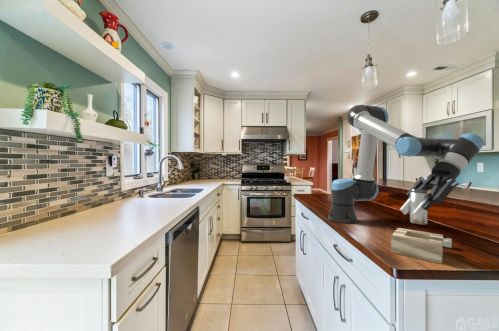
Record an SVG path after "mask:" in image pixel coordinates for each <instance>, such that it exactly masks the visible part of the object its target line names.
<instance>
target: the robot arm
mask: <svg viewBox="0 0 499 331" xmlns="http://www.w3.org/2000/svg"><path fill="white" fill-rule="evenodd" d="M389 117H390V116H389V113H388V111H387V110H386V109H385V108H384V107H383V106H382V107H381V106H378V105H367V104H356V105H354V106H352V107H351V108H349V110H348V111H347V114H346V121H347V123H348V124H349V125H350V126H351V127H353V128H355V129H357V130H358V131H359V132H360V141H359V149H358V158H357V165H356V166H357V167H356V173H355V174H354V175H353V176H352V178H349V177H348V178H337V179H334V180H332V183H331V206H330V210H329V213H328V217H327V218H328V220H329V221H330V222H335V223H342V224H354V223H357V222H358V215H357V213H356V210H355V207H354V206H355V202H362V201H363V202H366V201H372V200H373V199H375V198H377V196H378V194H379V186H378V183H377V182H376V178H375V177H374V176H373V175H374V169H375V160H376V153H377V144H378V140H381V141H382V142H384V143H385V144H388V145H389V146H390V147H393V148H394V149H395V151H396V153H397V154H398V155H400V156H404V157H410V158H411V157H426V158H427V157H430V158H431V157H433V158H440V159H439V160H438V162H437V163H436V164H435V165H434V166H433V167H432V169H431V173H430V174H429V175H427V176H426V177H423V176H419V177H418V180H417V181H416V182H415V183H414V184H413V185H412V187H411V188H410V189H425V190H427V192H428V191H429V190H430V193H429V194H428V195H427V197H426V198H427V199H424V200H423V201H422V202H421V203H420V205H419V206H418V207H417V208H416V209H415V210H414V212H413V213H414V214H415V215H416V216H417V217H418V218H420V217H421V216H422V215H423V213H424V212H425V211H426V210H427V211H428V210H429V209H430V208H431V207H432V206H433V205H435V204H439V205H440V204H442V203H443V202H444V201H445V199H446V198H447V197H448V196H449V195H450V194H451V192H452V191H453V190H454V189H455V188H457V187H458V186H459V184H460V183H459V182H458V181H457V180H456V179H457V178H458V177H459V176H460V174H461V173H462V172H463V171H464V170H465V169H466V167H467V166H468V165H469V163H470V162H471V161H472V160H473V159H474V158H475V157H476V156H477V155H478V154H479V153H480V152H481V149H482V148H483V147H484V144H485V141H484V139H483V138H482V137H481V136H480V135H478V134H475V133H472V132H467V133H464V134H463V133H462V134H461V135H460V136H459V137H458V138H434V137H433V138H432V137H418V136H415V135H413V134H410V133H409V132H407V131H404V130H402V129H400V128H398V127H397V126H394V125H392V124H389V123H388V122H389ZM410 189H409V190H408V191H407V192H406V196H407V197H408V198H407V199H406V201H404V203H403V205H402V206H401V207H400V208H399V210H400V211H401V213H403V215H407V214H408V213H410Z"/></svg>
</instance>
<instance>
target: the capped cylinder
mask: <svg viewBox="0 0 499 331" xmlns="http://www.w3.org/2000/svg"><path fill="white" fill-rule="evenodd" d="M409 190H410V211H409V223H412V224H416V225H427V224H428V210H426V211H425V212H424V213H423V215H422V216H421V217H420V218H418V217H417V216H416V215H415V214H414V213H413V212H414V210H415V209H416V208H417V207H418V206H419V205H420V203H421V202H422V201H423V200H424V199H427V198H426V197H428V191H427V190H425V189H411V188H410V189H409ZM427 200H428V199H427Z"/></svg>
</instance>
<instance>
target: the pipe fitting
mask: <svg viewBox="0 0 499 331" xmlns="http://www.w3.org/2000/svg"><path fill="white" fill-rule="evenodd" d="M452 240H453V239H452V238H448V237H447V238H446V237H443V248H446V249H449V250H451V249H453V248H452V247H453V246H452V245H453V244H452V243H453V241H452Z"/></svg>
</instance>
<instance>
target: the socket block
mask: <svg viewBox="0 0 499 331" xmlns="http://www.w3.org/2000/svg"><path fill="white" fill-rule="evenodd" d="M390 238H391V240H390V243H391V244H390V253H392V254H398V255H401V256H407V257H411V258H415V259H419V260H424V261H428V262H433V263H436V264H443V254H444V253H443V252H444V247H443V238H444V234H439V233H432V232H429V231H428V232H427V231H421V230H414V229H409V228H408V229H407V228H401V227H397V228H396V230H394V232H393V233H392V234H391V236H390Z"/></svg>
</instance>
